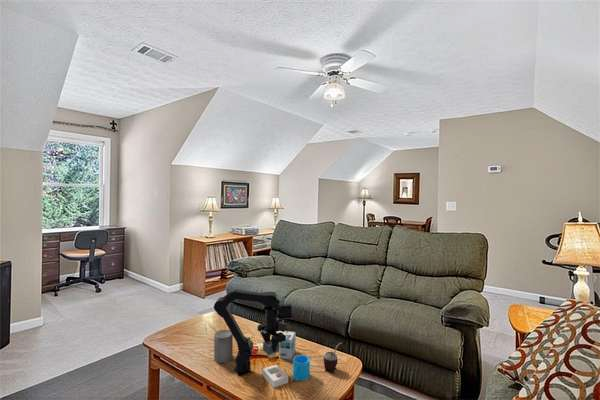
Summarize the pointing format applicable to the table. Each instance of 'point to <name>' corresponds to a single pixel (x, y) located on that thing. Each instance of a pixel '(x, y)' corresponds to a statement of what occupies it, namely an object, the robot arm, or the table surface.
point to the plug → (269, 349)
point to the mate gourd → (330, 360)
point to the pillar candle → (223, 346)
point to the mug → (301, 367)
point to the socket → (275, 376)
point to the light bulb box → (288, 345)
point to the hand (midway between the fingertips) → (271, 349)
